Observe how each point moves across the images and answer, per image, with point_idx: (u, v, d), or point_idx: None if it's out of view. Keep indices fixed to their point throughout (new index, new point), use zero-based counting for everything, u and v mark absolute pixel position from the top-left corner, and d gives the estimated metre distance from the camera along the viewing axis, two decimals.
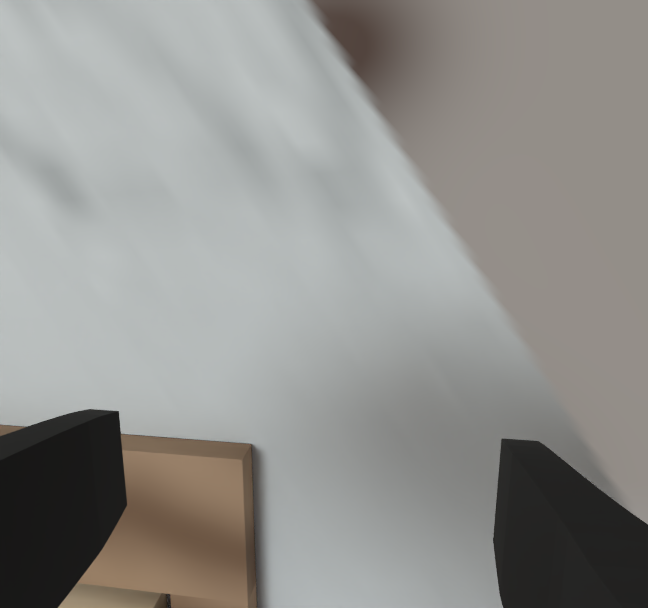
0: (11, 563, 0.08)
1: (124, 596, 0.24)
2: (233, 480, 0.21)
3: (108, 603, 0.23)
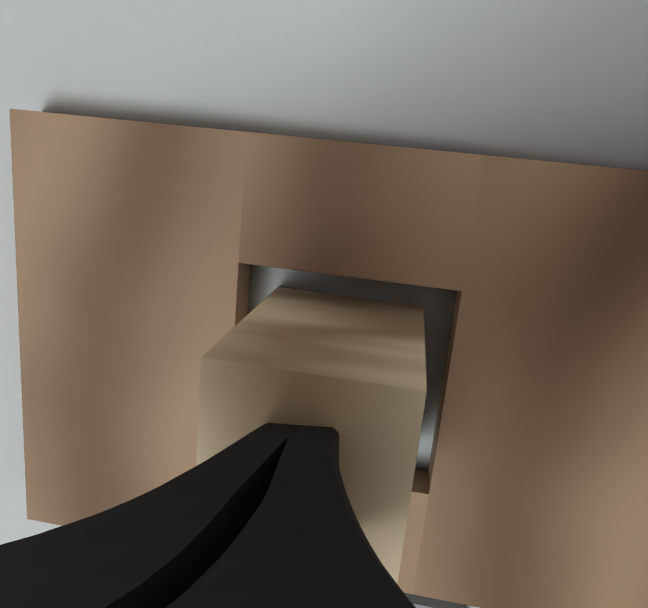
0: None
1: None
2: (41, 126, 0.15)
3: None
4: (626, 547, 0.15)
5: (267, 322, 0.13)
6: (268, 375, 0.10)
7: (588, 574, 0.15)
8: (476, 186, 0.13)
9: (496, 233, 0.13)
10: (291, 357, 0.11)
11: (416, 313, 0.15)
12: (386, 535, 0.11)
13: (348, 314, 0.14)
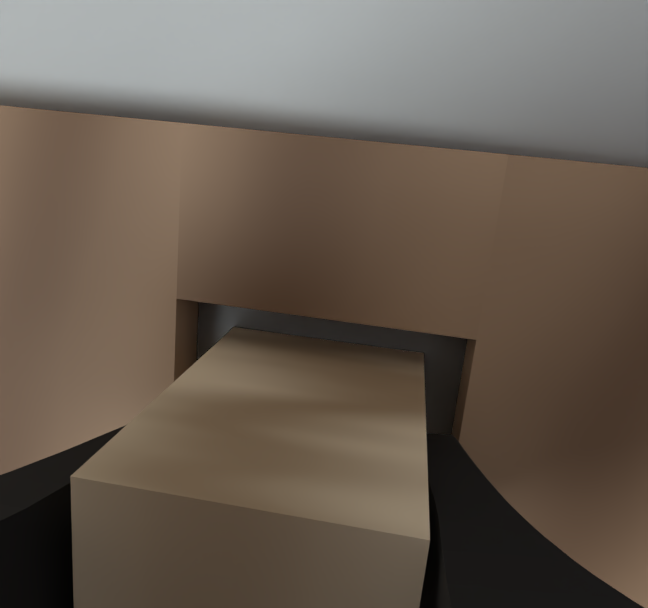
0: None
1: None
2: None
3: None
4: None
5: (201, 395, 0.09)
6: (176, 506, 0.06)
7: None
8: (497, 198, 0.10)
9: (524, 263, 0.10)
10: (219, 469, 0.07)
11: (414, 368, 0.11)
12: None
13: (320, 373, 0.10)
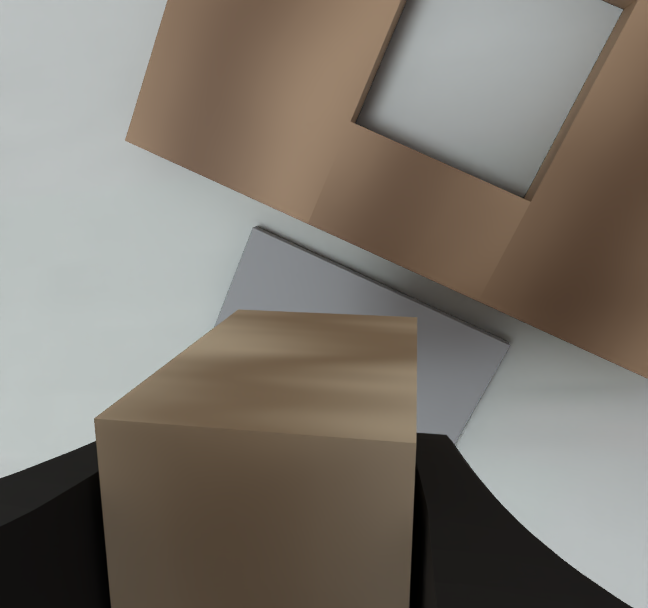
0: None
1: None
2: None
3: None
4: None
5: (208, 357, 0.10)
6: (189, 436, 0.07)
7: (646, 314, 0.16)
8: None
9: None
10: (225, 406, 0.08)
11: (407, 328, 0.11)
12: None
13: (318, 337, 0.11)
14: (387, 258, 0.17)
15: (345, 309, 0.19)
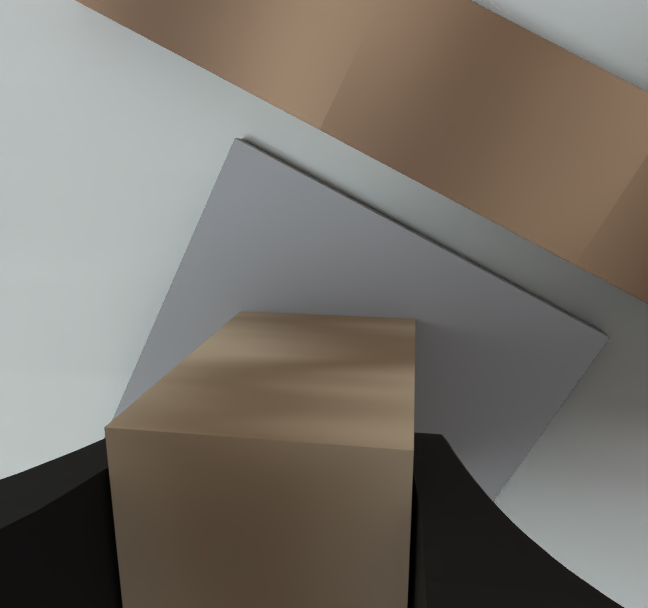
0: (111, 576, 0.08)
1: None
2: None
3: None
4: None
5: (213, 363, 0.10)
6: (195, 444, 0.07)
7: None
8: None
9: None
10: (230, 414, 0.08)
11: (406, 330, 0.12)
12: None
13: (319, 340, 0.11)
14: (439, 190, 0.11)
15: (365, 270, 0.13)
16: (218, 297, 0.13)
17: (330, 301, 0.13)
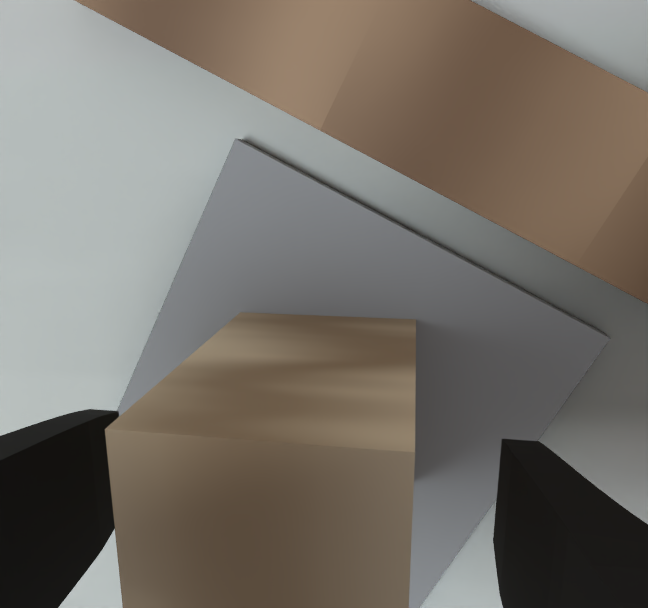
0: (11, 563, 0.08)
1: None
2: None
3: None
4: None
5: (213, 364, 0.10)
6: (196, 446, 0.07)
7: None
8: None
9: None
10: (231, 416, 0.08)
11: (406, 331, 0.12)
12: None
13: (319, 341, 0.11)
14: (439, 191, 0.11)
15: (366, 270, 0.13)
16: (218, 298, 0.13)
17: (331, 302, 0.13)
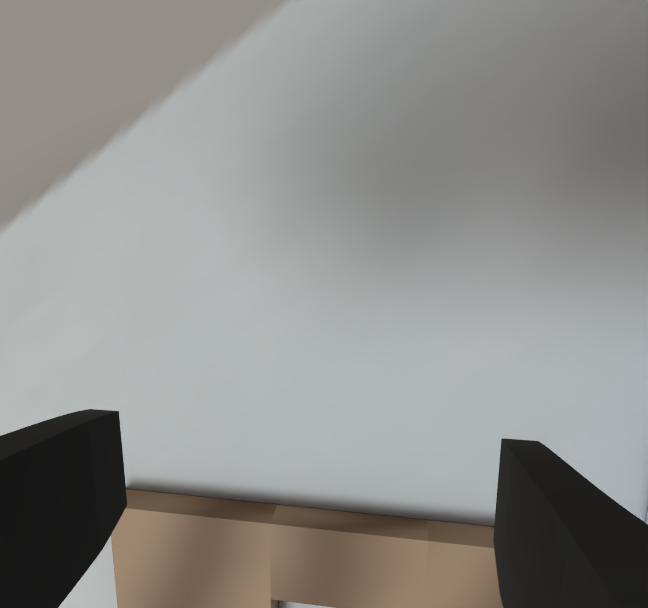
0: (10, 563, 0.08)
1: None
2: (131, 517, 0.21)
3: None
4: None
5: None
6: None
7: None
8: (425, 558, 0.20)
9: (441, 585, 0.20)
10: None
11: None
12: None
13: None
14: None
15: None
16: None
17: None
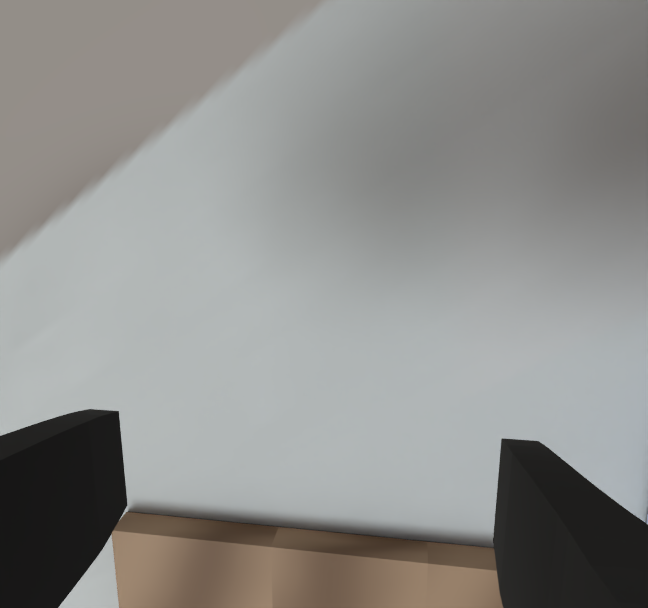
0: (10, 564, 0.08)
1: None
2: (133, 541, 0.22)
3: None
4: None
5: None
6: None
7: None
8: (425, 580, 0.20)
9: (442, 607, 0.20)
10: None
11: None
12: None
13: None
14: None
15: None
16: None
17: None
